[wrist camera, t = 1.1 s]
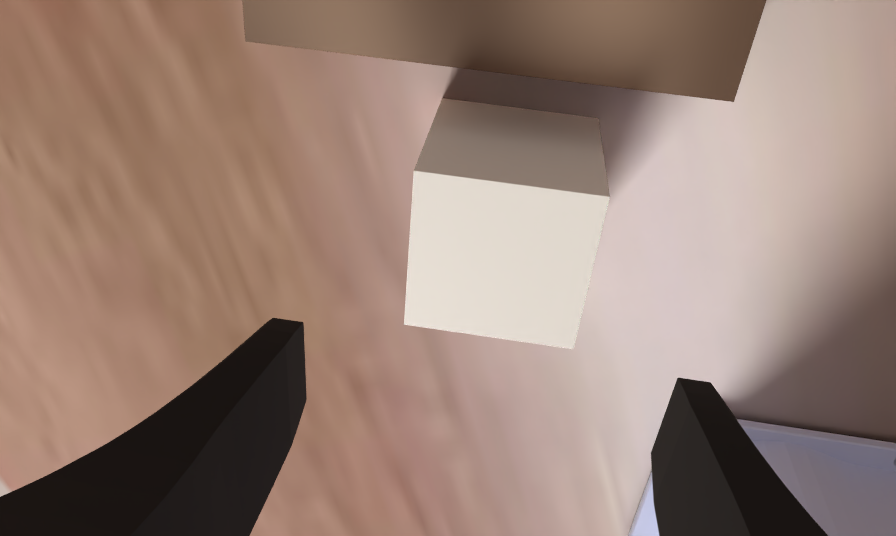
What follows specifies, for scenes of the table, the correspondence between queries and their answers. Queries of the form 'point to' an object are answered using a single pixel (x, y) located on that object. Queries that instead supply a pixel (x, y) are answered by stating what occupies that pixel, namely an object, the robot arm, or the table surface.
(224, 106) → the table surface
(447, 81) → the table surface
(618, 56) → the walnut block
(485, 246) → the cream block
